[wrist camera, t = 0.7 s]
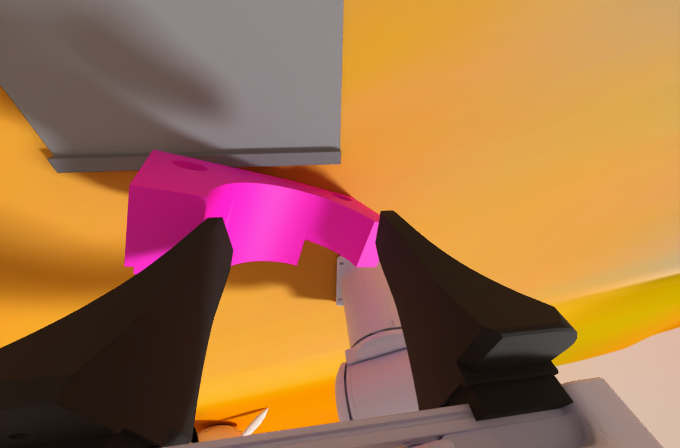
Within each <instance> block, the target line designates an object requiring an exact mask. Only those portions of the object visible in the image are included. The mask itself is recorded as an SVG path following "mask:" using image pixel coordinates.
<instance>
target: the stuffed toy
mask: <svg viewBox="0 0 680 448" xmlns="http://www.w3.org/2000/svg"><path fill="white" fill-rule="evenodd" d="M267 410H268V408H267V409H265V410H264V411H262V412H261V413H260V414H259V415H258V416H257V417H256V418H255V419H254V420H253V421H252V422H251V423H250V424H249V426H248V427H247V428H246V429H245V430H244V432H242V431H241V430H239V429H238V428H236V427H233V426H229V425H216V426H212V427H209V428H206V429H204V430H202V431H200V432H198V433H197V432H196V430H195V427H194V428H193V436H192V441H191V442H190V444H191V443H197V442H204V441H211V440H218V439H225V438H232V437H239V436H246V435H250V434H251V433H252V432H253V431H254V430H255V429H256V428H257V427H258V426H259V425H260V424H261V422H262V421H263V419H264V417H265V415H266V413H267Z"/></svg>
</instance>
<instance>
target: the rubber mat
mask: <svg viewBox="0 0 680 448" xmlns="http://www.w3.org/2000/svg"><path fill="white" fill-rule="evenodd" d="M342 41H343V0H0V85H1V87H2V88H3V89H4V91H5V92H6V93H7V94H8V96H9V97H10V98H11V100H12V101H13V102H14V104H15V105H16V106H17V108H18V109H19V110H20V112H21V113H22V114H23V115H24V117H25V118H26V119H27V121H28V122H29V123H30V125H31V126H32V127H33V129H34V130H35V131H36V133H37V134H38V135H39V137H40V138H41V139H42V140H43V142H44V143H45V144H46V146H47V147H48V148H49V150H50V151H51V152H52V154H53V155H54V156H52V157H50V158H49V159H47V160H48V161H49V163H50V164H51V165H52V166H53V168H54V169H55V170H56V171H57V173H68V172H100V171H132V170H140V168H141V167H142V165H143V164H144V162H145V161H146V159H147V158H148V156H149V155H150V153H151V152H152V150H153V149H154V150H158V151H163V152H167V153H172V154H176V155H181V156H185V157H189V158H194V159H198V160H203V161H207V162H212V163H216V164H221V165H225V166H230V167H261V166H293V165H326V164H341V151H340V124H341V83H342Z"/></svg>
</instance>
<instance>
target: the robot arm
mask: <svg viewBox="0 0 680 448" xmlns="http://www.w3.org/2000/svg"><path fill="white" fill-rule="evenodd" d="M375 244H376V249H377V254H378V258H379V262H378V264H377V267H356V266H354V265H353V264H352V263H351V262H349V261H348V260H347V259H345V258H344V257H342V256H341V255H340V256H338V257H337V281H336V304H337V305H338V306H341V305H344V310H345V317H346V323H347V330H348V337H349V343H350V349H348V350H346V351H345V354H346V362H344V363H342V364H341V365H340V367H339V371H338V373H337V376H336V381H335V396H336V405H337V411H338V416H339V420H340V422H337V423H330V424H323V425H316V426H309V427H302V428H295V429H288V430H281V431H274V432H267V433H260V434H253V435H246V436H239V437H232V438H225V439H218V440H211V441H204V442H197V443H191V444H190V442H191V441H192V436H193V428H194V421H195V414H196V407H197V399H198V394H199V388H200V382H201V376H202V370H203V365H204V360H205V355H206V350H207V345H208V341H209V336H210V332H211V327H212V323H213V320H214V316H215V313H216V310H217V307H218V304H219V301H220V299H221V296H222V293H223V290H224V287H225V284H226V281H227V278H228V275H229V271H230V267H231V262H232V256H233V247H232V244H231V241H230V238H229V235H228V232H227V229H226V226H225V223H224V220H223V217H210V218H207V219H205V220H204V221H203V222H202V223H201V224H199V225H198V226H197V227H196V228H195V229H194V230H192V231H191V232H190V233H189V234H188V235H187V236H185V237H184V238H183V239H182V240H181V241H179V242H178V243H177V244H176V245H175V246H173V247H172V248H171V249H170V250H168V251H167V252H166V253H165V254H163V255H162V256H161V257H159V258H158V259H157V260H155V261H154V262H153V263H152V264H150V265H149V266H148V267H146V268H145V269H143V270H142V271H141V272H139V273H138V274H136V275H135V276H133V277H132V278H130V279H129V280H127V281H126V282H124V283H123V284H121V285H120V286H118V287H116V288H115V289H113V290H111V291H110V292H108V293H106V294H105V295H103V296H101V297H99V298H98V299H96V300H94V301H93V302H91V303H89V304H88V305H86V306H84V307H82V308H81V309H79V310H77V311H75V312H73V313H71V314H69V315H67V316H66V317H64V318H62V319H60V320H58V321H56V322H54V323H52V324H50V325H48V326H46V327H44V328H42V329H40V330H38V331H36V332H34V333H32V334H30V335H28V336H26V337H24V338H22V339H19V340H17V341H15V342H13V343H11V344H9V345H6V346H4V347H2V348H0V448H663V447H662V446H661V445H660V443H659V442H658V441H657V440H656V439H655V438H654V436H653V435H652V434H651V433H650V432H649V431H648V430H647V428H646V427H645V426H644V425H643V424H642V423H641V422H640V420H639V419H638V418H637V417H636V416H635V415H634V414H633V412H632V411H631V410H630V409H629V408H628V407H627V406H626V404H625V403H624V402H623V401H622V400H621V399H620V397H619V396H618V395H617V394H616V393H615V392H614V390H612V388H611V387H610V386H609V385H608V384H607V383H606V381H605V380H604V379H602V378H600V377H598V378H591V379H584V380H577V381H571V382H567V383H564V384H562V385H561V384H560V383H559V381H558V380H557V379H556V377H555V376H554V375H556V374H558V370H557V368H556V367H555V365H554V364H553V363H552V362H551V360H553V359H554V358H555V357H557V356H558V355H559V354H561V353H562V352H564V351H565V350H566V349H568V348H569V347H570V346H571V345H572V344H574V342H575V341H576V339H577V331H576V330H575V329H574V328H573V327H572V326H571V325H570V324H569V323H568V322H567V320H566V319H565V318H564V317H563V316H562V315H561V314H560V313H559V312H558V311H557V309H556V308H555V307H553V306H551V305H548V304H546V303H543V302H541V301H538V300H536V299H533V298H531V297H528V296H526V295H523V294H521V293H518V292H516V291H514V290H512V289H510V288H507V287H505V286H503V285H501V284H499V283H497V282H495V281H493V280H491V279H489V278H487V277H485V276H483V275H481V274H479V273H477V272H476V271H474V270H472V269H470V268H468V267H467V266H465V265H463V264H462V263H460V262H459V261H457V260H455V259H454V258H452V257H451V256H449V255H448V254H446V253H445V252H443V251H442V250H441V249H439V248H438V247H436V246H435V245H434V244H432V243H431V242H430V241H429V240H427V239H426V238H425V237H424V236H422V235H421V234H420V233H419V232H417V231H416V230H415V229H414V228H413V227H412V226H410V225H409V224H408V223H407V222H406V221H405V220H404V219H403V218H401V217H400V216H399V215H398V214H397V213H396V212H394V211H381V213H380V218H379V224H378V230H377V235H376V241H375ZM340 262H342V263H340Z"/></svg>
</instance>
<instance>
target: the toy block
mask: <svg viewBox="0 0 680 448" xmlns="http://www.w3.org/2000/svg"><path fill="white" fill-rule="evenodd" d="M210 217H223V220H224V223H225V226H226V229H227V232H228V235H229V238H230V241H231V244H232V247H233V256H232V262H231V266H232V265H236V264H240V263H245V262H253V261H274V262H282V263H288V264H292V265H296V266H297V263H298V260H299V256H300V253H301V250H302V247H303V244H304V241H305V240H308V241H311V242H314V243H317V244H319V245H321V246H324V247H326V248H328V249H330V250H332V251H334V252H336V253H337V254H339V255H341V256H342V257H344V258H345V259H347V260H348V261H349V262H351V263H352V264H353V265H354V266H356V267H377V264H378V262H379V258H378V254H377V249H376V244H375V241H376V235H377V230H378V224H379V218H380V215H379V214H377V213H376V212H374V211H373V210H371V209H370V208H368V207H367V206H365V205H364V204H362V203H361V202H359V201H357V200H356V199H354V198H353V197H349V196H346V195H342V194H339V193H335V192H332V191H328V190H324V189H321V188H317V187H314V186H310V185H307V184H303V183H300V182H296V181H292V180H288V179H283V178H279V177H274V176H270V175H265V174H261V173H256V172H252V171H248V170H243V169H239V168H234V167H230V166H225V165H221V164H216V163H212V162H207V161H203V160H198V159H194V158H189V157H185V156H181V155H176V154H172V153H167V152H163V151H158V150H154V149H153V150H152V152H151V153H150V155H149V156H148V158H147V159H146V161H145V162H144V164H143V165H142V167H141V168H140V170H139V171H138V173H137V174H136V176H135V177H134V179H133V180H132V182H131V183H130V185H129V199H128V215H127V231H126V247H125V263H124V267H134V274H138V273H139V272H141V271H142V270H143V269H145V268H146V267H148V266H149V265H150V264H152V263H153V262H154V261H155V260H157V259H158V258H159V257H161V256H162V255H163V254H165V253H166V252H167V251H168V250H170V249H171V248H172V247H173V246H175V245H176V244H177V243H178V242H179V241H181V240H182V239H183V238H184V237H185V236H187V235H188V234H189V233H190V232H191V231H192V230H194V229H195V228H196V227H197V226H198V225H199V224H201V223H202V222H203V221H204V220H205V219H207V218H210Z"/></svg>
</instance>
